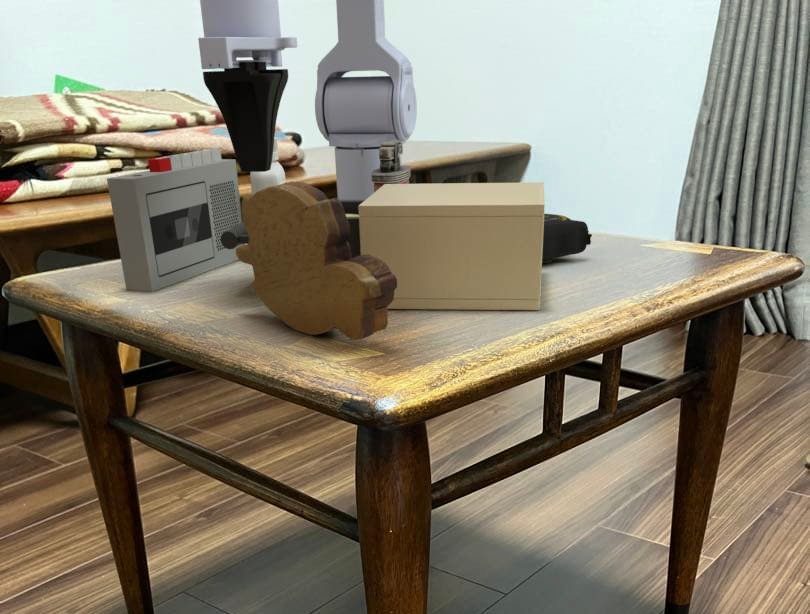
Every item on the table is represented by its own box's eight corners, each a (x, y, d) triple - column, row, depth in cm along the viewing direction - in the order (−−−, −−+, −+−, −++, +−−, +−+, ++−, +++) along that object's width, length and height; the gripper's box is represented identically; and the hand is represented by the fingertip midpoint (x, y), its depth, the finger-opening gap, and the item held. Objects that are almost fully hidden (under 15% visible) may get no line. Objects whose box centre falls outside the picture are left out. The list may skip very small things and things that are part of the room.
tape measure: (532, 270, 79) (534, 227, 77) (487, 258, 84) (488, 217, 82) (590, 261, 82) (593, 219, 80) (543, 249, 87) (545, 210, 85)
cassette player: (152, 291, 75) (131, 165, 70) (126, 289, 76) (104, 165, 71) (246, 256, 88) (234, 148, 83) (223, 255, 89) (209, 147, 84)
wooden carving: (420, 345, 59) (417, 186, 54) (370, 360, 56) (362, 195, 52) (272, 306, 70) (259, 170, 65) (224, 317, 67) (206, 177, 62)
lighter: (401, 256, 86) (399, 145, 81) (368, 255, 87) (363, 145, 82) (417, 241, 93) (415, 138, 88) (386, 240, 94) (382, 138, 89)
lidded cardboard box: (363, 308, 68) (358, 205, 65) (387, 274, 79) (384, 183, 75) (539, 310, 66) (544, 204, 63) (539, 274, 77) (543, 182, 74)
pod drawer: (215, 294, 70) (205, 217, 67) (255, 264, 80) (248, 197, 77) (427, 295, 68) (426, 216, 65) (441, 265, 78) (441, 195, 75)
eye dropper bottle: (306, 247, 91) (296, 120, 85) (280, 258, 87) (268, 124, 81) (269, 246, 93) (257, 120, 87) (242, 256, 88) (227, 124, 82)
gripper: (262, -43, 57) (281, 181, 64) (312, -25, 70) (324, 160, 76) (158, -39, 58) (188, 182, 64) (226, -22, 70) (245, 161, 77)
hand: (256, 170), depth 70 cm, fingers closed
